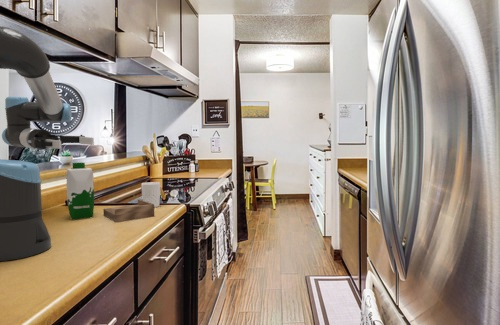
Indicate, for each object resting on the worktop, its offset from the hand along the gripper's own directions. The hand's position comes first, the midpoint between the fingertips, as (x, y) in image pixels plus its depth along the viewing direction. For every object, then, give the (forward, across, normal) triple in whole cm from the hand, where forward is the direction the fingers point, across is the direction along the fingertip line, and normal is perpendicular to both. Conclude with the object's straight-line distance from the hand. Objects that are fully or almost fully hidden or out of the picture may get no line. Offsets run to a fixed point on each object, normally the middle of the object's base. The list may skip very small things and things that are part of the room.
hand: (77, 142), depth 117 cm
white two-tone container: (+1, +1, -28) cm, 28 cm away
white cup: (+12, -25, -29) cm, 40 cm away
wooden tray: (+16, -7, -27) cm, 32 cm away
